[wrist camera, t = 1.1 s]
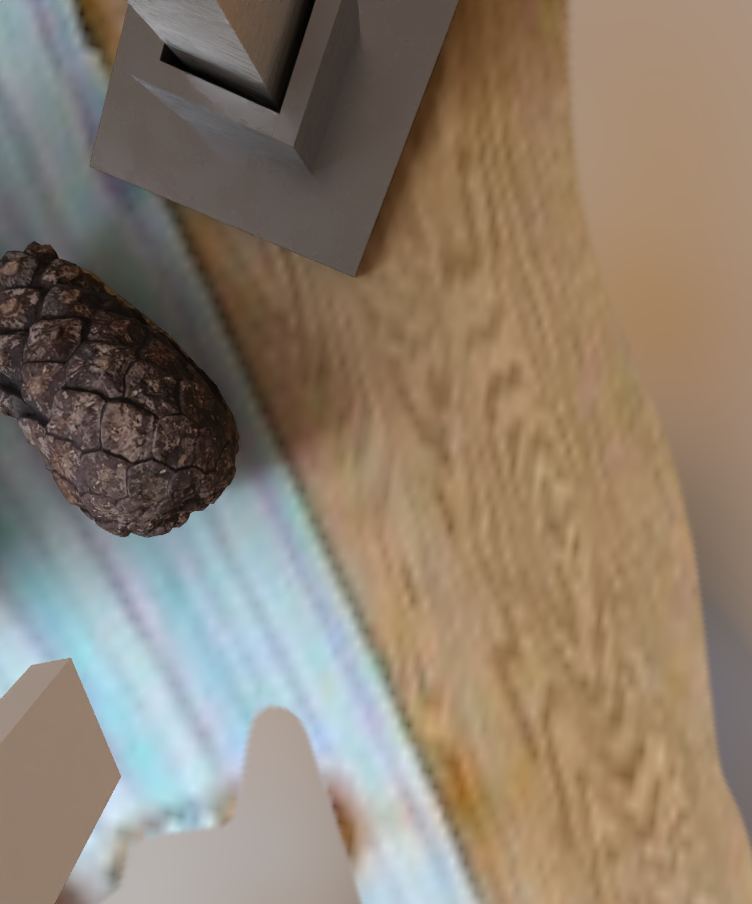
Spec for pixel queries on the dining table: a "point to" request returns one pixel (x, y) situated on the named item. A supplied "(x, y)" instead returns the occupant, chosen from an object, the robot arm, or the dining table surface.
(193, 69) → the column
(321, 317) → the dining table surface
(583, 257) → the dining table surface
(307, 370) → the dining table surface
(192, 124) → the stand base
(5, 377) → the pine cone
